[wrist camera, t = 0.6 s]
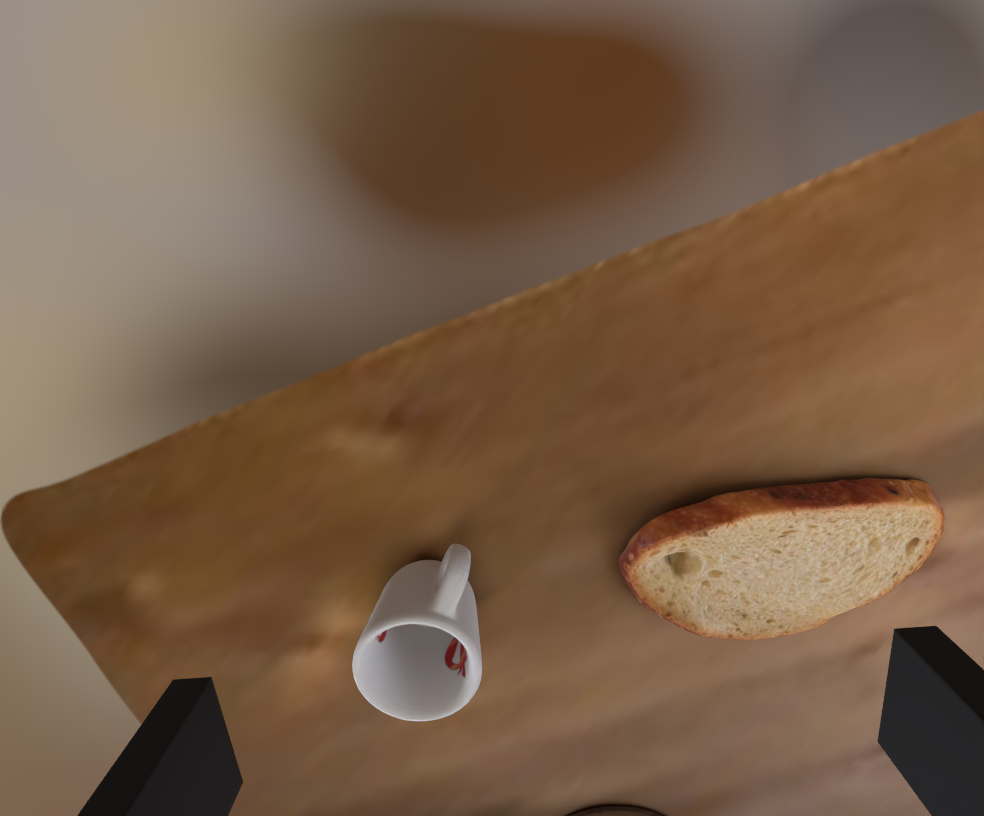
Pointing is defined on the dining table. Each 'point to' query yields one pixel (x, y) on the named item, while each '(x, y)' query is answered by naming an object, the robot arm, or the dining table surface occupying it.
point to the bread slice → (781, 554)
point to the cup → (422, 641)
